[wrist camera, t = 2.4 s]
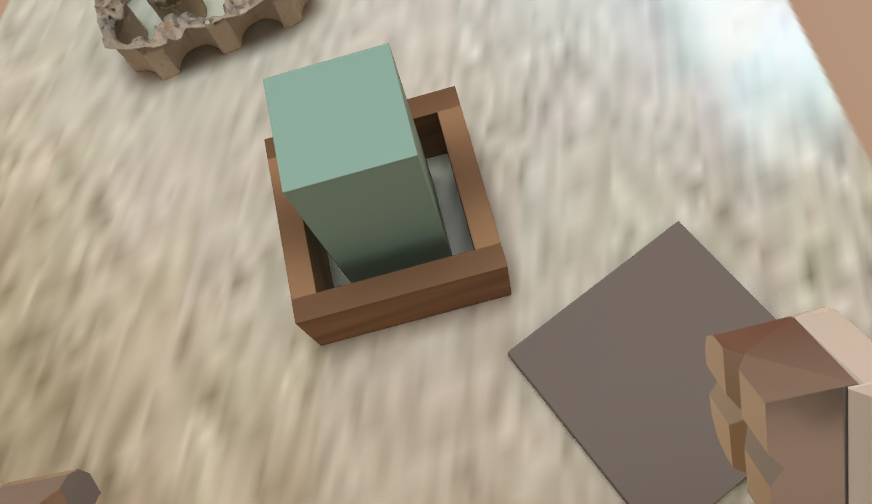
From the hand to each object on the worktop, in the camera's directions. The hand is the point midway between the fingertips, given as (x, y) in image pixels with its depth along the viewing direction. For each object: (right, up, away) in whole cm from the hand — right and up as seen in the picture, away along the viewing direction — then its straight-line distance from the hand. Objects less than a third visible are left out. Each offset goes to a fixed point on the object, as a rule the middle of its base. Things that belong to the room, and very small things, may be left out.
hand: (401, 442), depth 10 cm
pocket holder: (-1, +3, +24) cm, 24 cm away
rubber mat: (+10, -2, +20) cm, 22 cm away
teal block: (-1, +3, +24) cm, 24 cm away
